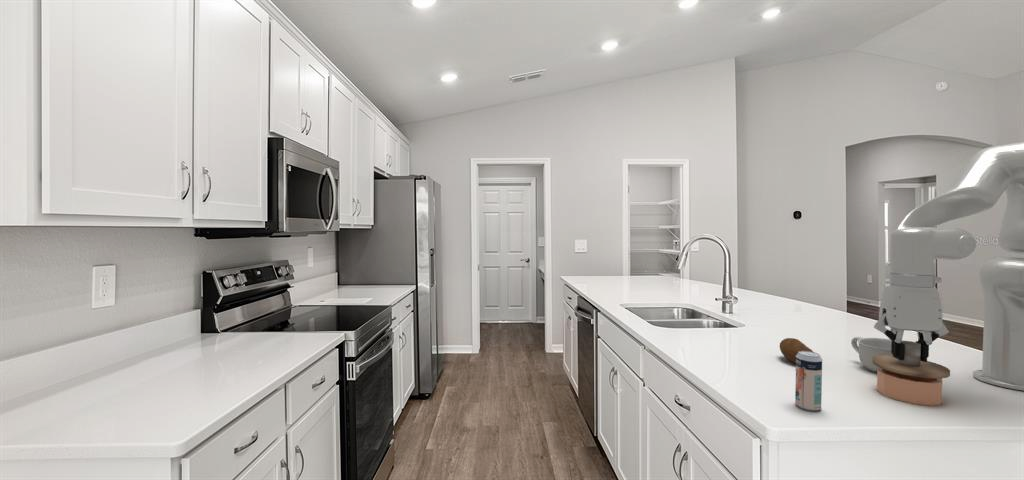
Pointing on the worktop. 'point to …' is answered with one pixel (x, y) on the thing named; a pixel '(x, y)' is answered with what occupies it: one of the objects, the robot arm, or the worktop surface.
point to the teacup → (871, 350)
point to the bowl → (909, 388)
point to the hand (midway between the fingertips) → (909, 358)
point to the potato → (792, 348)
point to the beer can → (808, 380)
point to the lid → (911, 363)
